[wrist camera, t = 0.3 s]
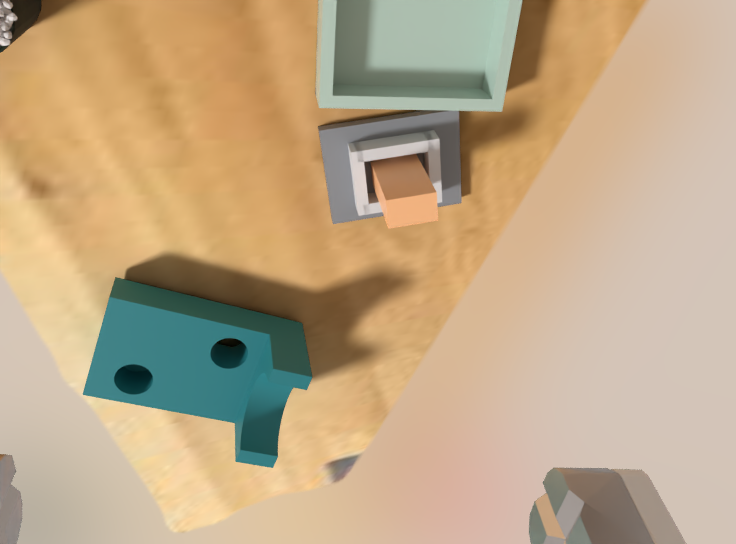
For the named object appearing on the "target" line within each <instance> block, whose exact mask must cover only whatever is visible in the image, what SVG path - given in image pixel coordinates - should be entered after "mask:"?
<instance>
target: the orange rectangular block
mask: <svg viewBox="0 0 736 544" xmlns="http://www.w3.org/2000/svg"><path fill="white" fill-rule="evenodd" d="M370 163H371V173H372V182H373V187H374V190H375V192H376V195H377V198H378V201H379V203H380V206H381V209H382V212H383V214H384V217H385V220H386V223H387V225H388V228H395V227H401V226H407V225H413V224H419V223H425V222H432V221H438V207H437V192H436V190H435V188H434V186H433V184H432V182H431V181H430V179H429V177H428V175H427V173H426V171H425V169H424V168H423V166H422V164H421V162H420V160H419V158H418V156H417V154H410V155H404V156H397V157H391V158H385V159H378V160H372V161H370Z"/></svg>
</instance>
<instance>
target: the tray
mask: <svg viewBox="0 0 736 544" xmlns="http://www.w3.org/2000/svg"><path fill="white" fill-rule="evenodd" d="M521 6H522V0H318V26H317V59H316V92H315V94H316V98H317V101H318V105H319V108H348V109H398V110H447V111H497V112H502V109H503V104H504V98H505V93H506V87H507V82H508V76H509V71H510V66H511V60H512V55H513V49H514V44H515V38H516V33H517V27H518V22H519V17H520V11H521Z"/></svg>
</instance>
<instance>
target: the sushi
mask: <svg viewBox="0 0 736 544" xmlns="http://www.w3.org/2000/svg"><path fill="white" fill-rule="evenodd" d="M40 11H41V0H0V52H3V51H4V50H5V49H6V48H7V47H8V46H9V45H11V44H12V43H13V42H14V41H15V40H16V39H17V38H18V37H20V36H21V35H22V34H23V33H24V32H25V31H26V30H28V29H29V28H30V27H31V26H32V24H33V23H34V22H35V21H36V20H37V18H38V16H39V13H40Z"/></svg>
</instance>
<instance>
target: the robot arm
mask: <svg viewBox="0 0 736 544" xmlns="http://www.w3.org/2000/svg"><path fill="white" fill-rule="evenodd" d="M15 473H16V469H15V465H14V461H13V457H12V455H4V454H0V544H16V543H17V540H18V537H19V531H20V527H21V521H22V499H21V493H20V491H19V490H17V489H16V488H15V487H13V486H12V485H11V482H12V479H13V477H14V475H15ZM543 484H544V487H545V490H546V494H544V495H543V496H541V497H540V498H538V499H537V500H536V501H535V502H534V505H533V507H532V510H531V513H530V519H529V535H530V542H531V544H686V542H685V541H684V539H683V537H682V535H681V533H680V532H679V530H678V528H677V526H676V524H675V523H674V521H673V519H672V517H671V516H670V514H669V512H668V510H667V508H666V507H665V505H664V503H663V501H662V499H661V498H660V496H659V494H658V492H657V490H656V489H655V487H654V485H653V483H652V481H651V480H650V478H649V476H648V475H647V474H646V473H645V472H644V471H642V470H630V469H608V468H553V469H552V470H550V471H549V472H548V473H547V475H546V477H545V479H544V481H543Z"/></svg>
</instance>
